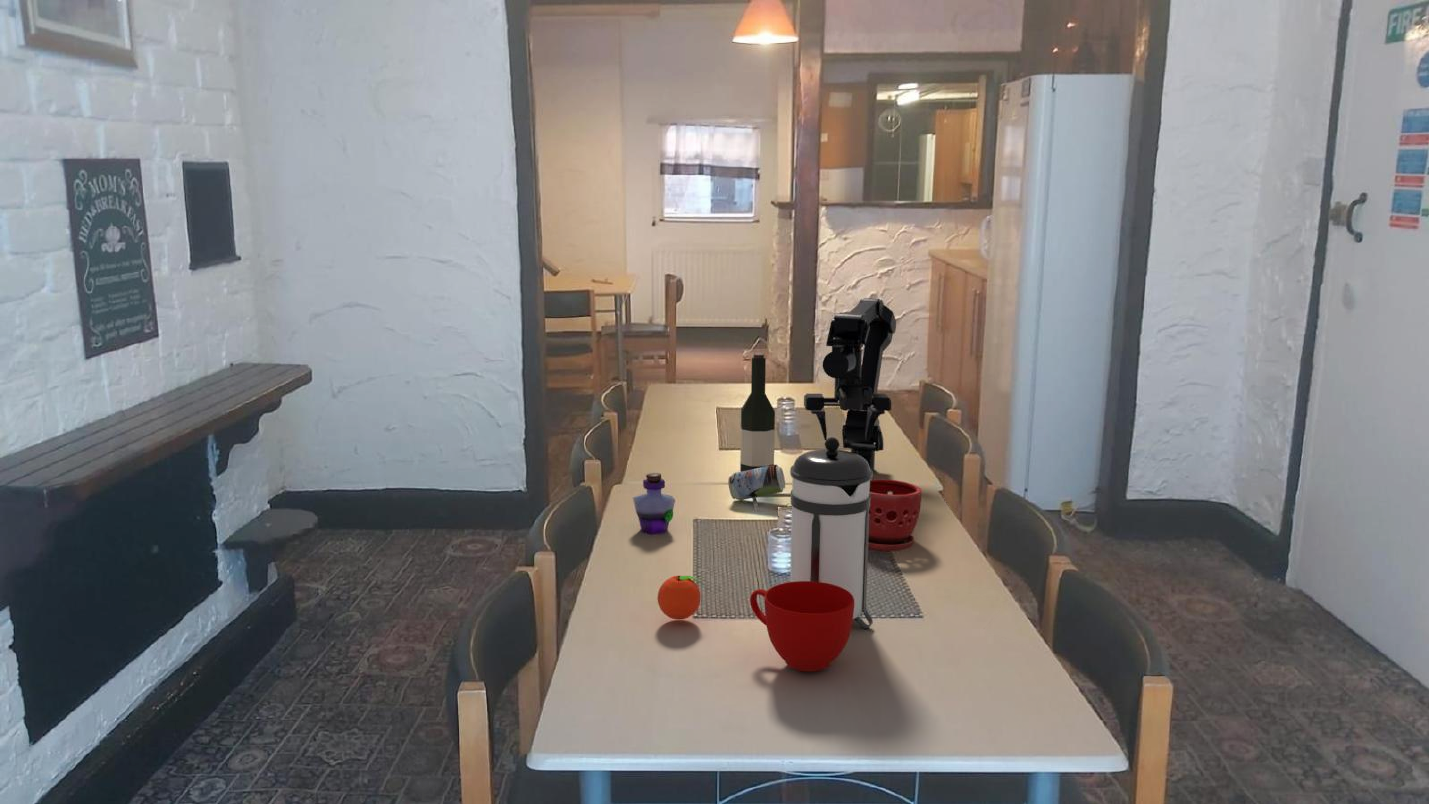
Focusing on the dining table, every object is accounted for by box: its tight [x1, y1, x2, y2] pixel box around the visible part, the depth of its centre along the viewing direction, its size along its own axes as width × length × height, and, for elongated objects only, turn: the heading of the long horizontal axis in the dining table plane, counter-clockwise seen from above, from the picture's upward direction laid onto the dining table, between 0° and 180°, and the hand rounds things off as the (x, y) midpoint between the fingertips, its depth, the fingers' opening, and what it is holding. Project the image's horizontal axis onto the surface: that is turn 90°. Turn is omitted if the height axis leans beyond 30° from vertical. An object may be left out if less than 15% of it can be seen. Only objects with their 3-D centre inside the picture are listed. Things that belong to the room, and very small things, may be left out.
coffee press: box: [789, 436, 874, 630], centre depth 172 cm, size 17×16×30 cm
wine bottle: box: [739, 352, 776, 472], centre depth 253 cm, size 8×8×30 cm
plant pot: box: [868, 478, 923, 552], centre depth 209 cm, size 13×13×12 cm
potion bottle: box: [632, 472, 676, 535], centre depth 215 cm, size 9×9×12 cm
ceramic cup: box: [749, 581, 854, 672], centre depth 158 cm, size 13×17×10 cm
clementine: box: [657, 575, 706, 620], centre depth 173 cm, size 8×7×7 cm
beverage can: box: [727, 464, 786, 501], centre depth 232 cm, size 6×7×12 cm
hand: (846, 439), depth 240 cm, fingers open, 9 cm apart
